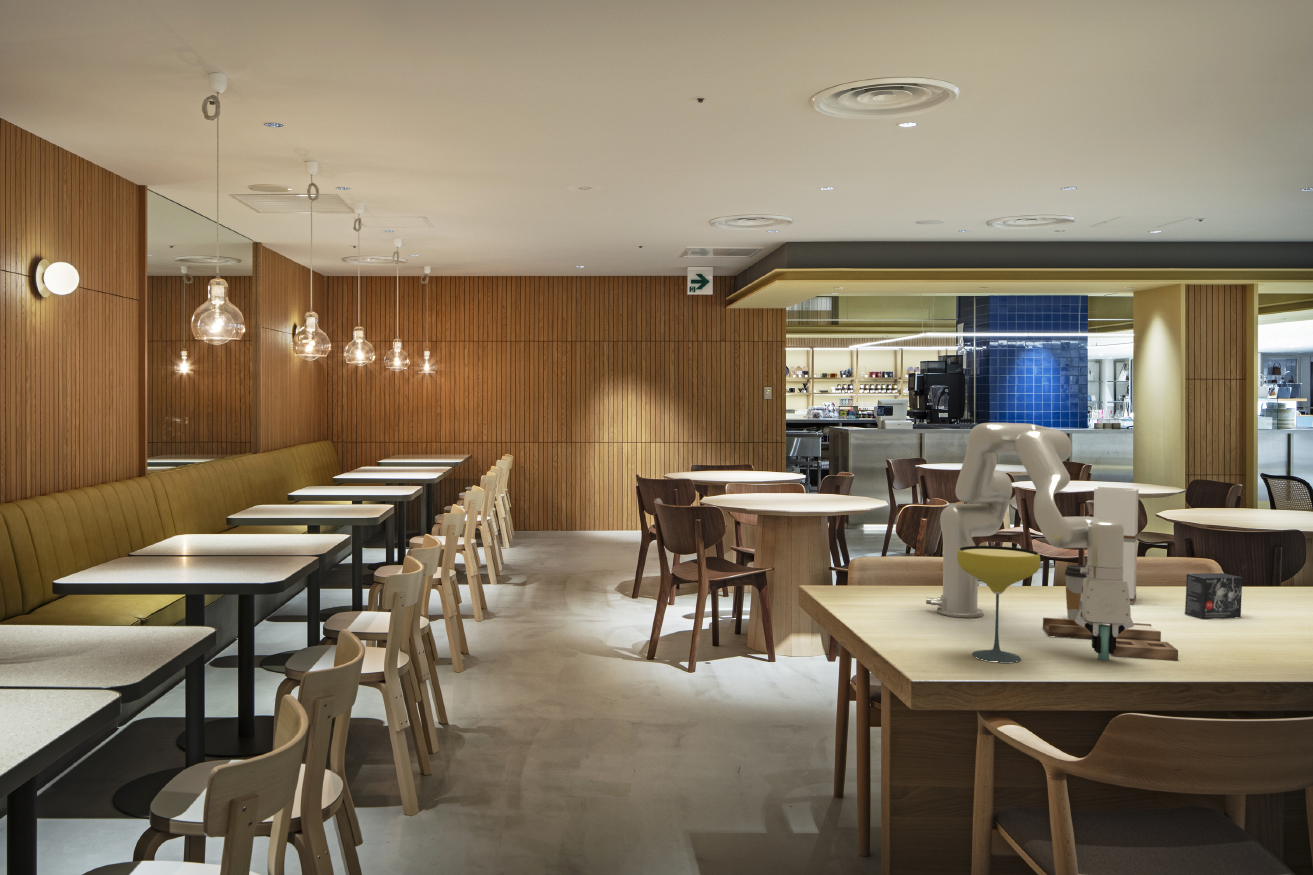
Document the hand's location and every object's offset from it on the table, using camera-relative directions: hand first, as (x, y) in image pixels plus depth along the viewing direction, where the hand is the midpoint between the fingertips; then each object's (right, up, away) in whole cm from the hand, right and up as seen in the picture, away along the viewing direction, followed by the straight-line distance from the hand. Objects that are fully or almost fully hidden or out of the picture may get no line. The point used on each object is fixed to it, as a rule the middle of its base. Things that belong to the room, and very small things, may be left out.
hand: (1103, 651), depth 207 cm
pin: (0, -2, 0) cm, 2 cm away
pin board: (+12, -2, +6) cm, 13 cm away
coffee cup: (+14, -1, +41) cm, 43 cm away
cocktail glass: (-25, -2, +1) cm, 25 cm away
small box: (+56, -2, +49) cm, 75 cm away
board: (+11, -2, +23) cm, 26 cm away
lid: (+16, 0, +22) cm, 27 cm away
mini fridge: (+39, -1, +71) cm, 81 cm away
